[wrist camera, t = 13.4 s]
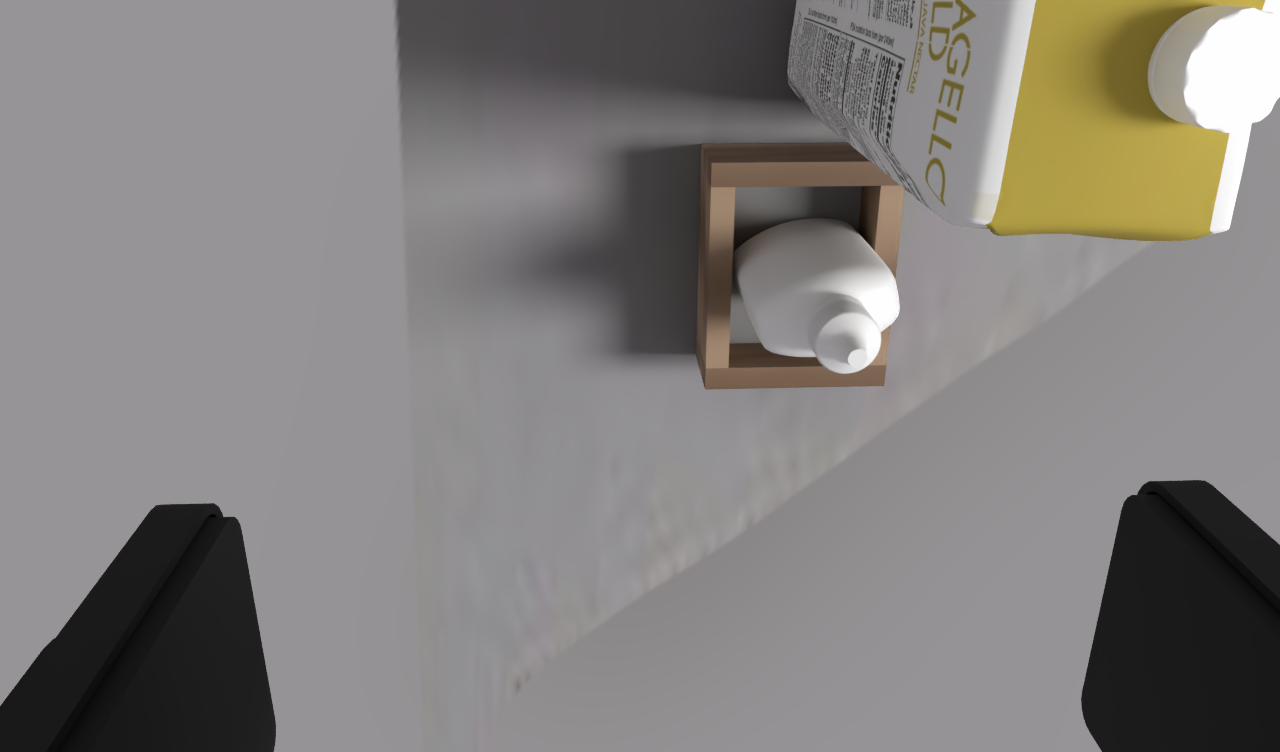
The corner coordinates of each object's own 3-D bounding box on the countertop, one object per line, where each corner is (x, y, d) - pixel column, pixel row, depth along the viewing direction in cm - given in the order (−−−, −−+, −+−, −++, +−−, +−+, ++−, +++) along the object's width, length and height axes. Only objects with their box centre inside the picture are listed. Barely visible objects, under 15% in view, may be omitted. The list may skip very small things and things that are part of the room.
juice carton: (946, 115, 45) (1288, 290, 23) (767, 108, 45) (944, 282, 23) (983, -121, 42) (1432, -177, 20) (789, -131, 41) (1025, -200, 19)
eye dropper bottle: (836, 314, 48) (912, 430, 37) (719, 288, 47) (761, 398, 36) (867, 224, 46) (956, 317, 35) (746, 195, 45) (799, 281, 34)
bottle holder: (701, 143, 45) (711, 162, 42) (881, 142, 46) (907, 161, 42) (696, 354, 49) (704, 389, 46) (861, 352, 50) (884, 386, 46)
